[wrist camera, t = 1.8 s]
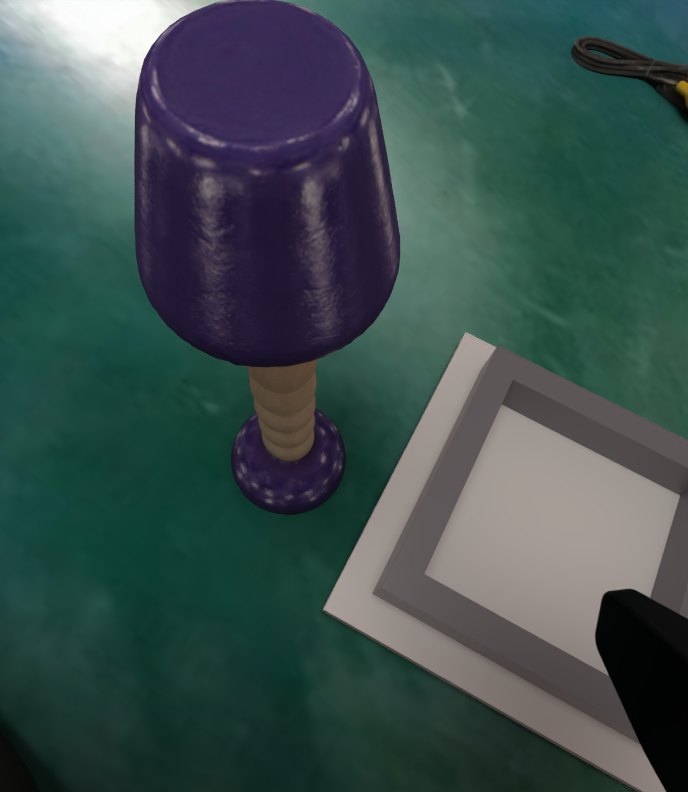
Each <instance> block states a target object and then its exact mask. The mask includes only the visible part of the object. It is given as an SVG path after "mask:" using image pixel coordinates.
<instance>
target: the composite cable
mask: <svg viewBox="0 0 688 792" xmlns="http://www.w3.org/2000/svg"><path fill="white" fill-rule="evenodd" d="M588 50H595V51H599V52H602V53H605V54H606V55H609V56H611V57H613V58H615V59H617V60H615V59H612V58H607V57H602V56H600V55H598V54H593V53H591V52H590V51H588ZM572 57H573V59H574V61H575V62H576V63H577V64H578V65H580V66H582V67H584V68H586V69H588V70H591V71H595V72H598V73H605V74H613V75H625V76H637V77H639V78H642V79H643V80H646V81H648V82H650V83H651V84H653V85H654V86H655V90H656V91H657V92H659V93H660V94H661V95H662V96H663V97H665V98H666V99H667V100H669V101H670V102H672V103H674V104H676V105H678V106H679V107H681V108H682V109H684V110H685V111H687V112H688V65H680V64H673V63H668V62H664V61H659V60H655V59H653V58H650V57H648V56H645V55H643V54H640V53H638V52H636V51H633V50H631V49H629V48H626V47H624V46H621V45H619V44H617V43H615V42H612V41H608V40H606V39H601V38H597V37H591V36H585V37H581V38H578V39H577V40H576V41H575V43H574V47H573V48H572Z"/></svg>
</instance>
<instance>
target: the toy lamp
mask: <svg viewBox="0 0 688 792" xmlns="http://www.w3.org/2000/svg"><path fill="white" fill-rule="evenodd" d="M135 243H136V258H137V264H138V271H139V275H140V279H141V282H142V285H143V287H144V290H145V292H146V294H147V297H148V299H149V301H150V303H151V305H152V306H153V308H154V309H155V310H156V311H157V313H158V314H159V316H160V317H161V318H162V320H163V321H164V322H165V323H166V325H167V326H168V327H169V328H171V329H172V330H173V331H174V332H175V333H176V334H177V335H178V336H179V337H180V338H181V339H183V340H184V341H186V342H188V343H189V344H191V345H192V346H193V347H195V348H197V349H199V350H201V351H203V352H205V353H207V354H208V355H210V356H212V357H215V358H217V359H221V360H225V361H229V362H231V363H233V364H235V365H245V366H247V369H248V371H249V384H250V389H251V392H252V394H253V396H254V407H255V410H256V413H254V414H253V415H252V416H251V417H250V418H249V419H248V420H247V421H246V422H245V423H244V424H243V425H242V427H241V428H240V430H239V432H238V434H237V436H236V438H235V441H234V444H233V449H232V453H231V464H232V471H233V475H234V478H235V480H236V483H237V485H238V486H239V487H240V489H241V491H242V493H243V494H244V495H245V496H246V497H247V498H248V499H249V500H251V501H252V502H253V503H254V504H255V505H257V506H259V507H260V508H263V509H266V510H268V511H270V512H275V513H283V514H296V513H301V512H304V511H307V510H310V509H313V508H315V507H317V506H319V505H320V504H322V503H323V502H324V501H325V500H327V499H328V498H329V497H330V496H331V495H332V493H333V492H334V491H335V490H336V489H337V487H338V486H339V483H340V481H341V479H342V476H343V472H344V466H345V450H344V444H343V441H342V437H341V435H340V433H339V431H338V430H337V428H336V427H335V425H334V424H333V423H332V422H331V420H330V419H329V418H328V417H327V416H325V415H324V414H323V413H322V412H321V411H319V410H318V409H316V408H315V407H316V401H315V391H316V384H317V379H316V374H315V368H316V364H317V359H319V358H322V357H325V356H327V355H328V354H330V353H332V352H334V351H336V350H339V349H341V348H343V347H345V346H346V345H348V344H350V343H351V342H352V341H353V340H354V339H355V338H357V337H358V336H360V335H361V334H363V333H364V332H365V331H366V329H367V328H368V327H370V326H371V325H372V324H373V323H374V321H375V320H376V318H377V317H378V316H379V314H380V313H381V311H382V310H383V308H384V306H385V304H386V303H387V301H388V299H389V297H390V295H391V292H392V290H393V287H394V284H395V281H396V278H397V274H398V270H399V261H400V234H399V227H398V221H397V214H396V207H395V201H394V195H393V190H392V183H391V177H390V170H389V164H388V158H387V152H386V147H385V141H384V136H383V130H382V125H381V119H380V114H379V109H378V103H377V97H376V92H375V89H374V85H373V82H372V79H371V76H370V74H369V71H368V69H367V67H366V64H365V62H364V60H363V58H362V56H361V54H360V52H359V50H358V49H357V48H356V46H355V45H354V44H353V42H352V41H351V40H350V39H349V37H348V36H347V35H346V34H344V33H343V32H342V31H341V30H340V29H339V28H338V27H337V26H335V25H334V24H333V23H332V22H331V21H329V20H327V19H326V18H324V17H322V16H321V15H319V14H317V13H315V12H313V11H311V10H309V9H306V8H304V7H301V6H299V5H295V4H291V3H287V2H282V1H276V0H226V1H222V2H217V3H214V4H211V5H208V6H206V7H203V8H201V9H198V10H196V11H194V12H192V13H190V14H188V15H186V16H184V17H182V18H180V19H179V20H177V21H176V22H174V23H173V24H172V25H170V26H169V27H168V28H167V29H166V30H165V31H164V32H163V33H162V34H161V35H160V36H159V37H158V39H157V40H156V41H155V42H154V44H153V45H152V46H151V48H150V50H149V52H148V54H147V55H146V57H145V59H144V62H143V65H142V69H141V74H140V77H139V84H138V90H137V95H136V107H135Z"/></svg>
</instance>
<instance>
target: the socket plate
mask: <svg viewBox="0 0 688 792" xmlns="http://www.w3.org/2000/svg"><path fill="white" fill-rule="evenodd" d="M619 589H634V590H636V591H639V592H640V593H642V594H644V595H646V596H648V597H649V598H651V599H653V600H655V601H657V602H658V603H660V604H662V605H664V606H666V607H668V608H669V609H671V610H673V611H675V612H677V613H678V614H680V615H682V616H684V617H686V618H687V619H688V440H686V439H684V438H682V437H680V436H678V435H676V434H674V433H672V432H670V431H668V430H666V429H664V428H662V427H660V426H658V425H656V424H654V423H652V422H650V421H648V420H646V419H644V418H642V417H640V416H638V415H636V414H634V413H632V412H630V411H628V410H626V409H624V408H622V407H620V406H618V405H616V404H614V403H612V402H610V401H608V400H606V399H604V398H602V397H600V396H598V395H596V394H594V393H592V392H590V391H588V390H586V389H584V388H582V387H580V386H578V385H576V384H574V383H572V382H570V381H568V380H566V379H564V378H562V377H560V376H558V375H556V374H554V373H552V372H550V371H548V370H546V369H544V368H542V367H540V366H538V365H536V364H534V363H532V362H530V361H528V360H526V359H524V358H522V357H520V356H518V355H516V354H514V353H512V352H510V351H508V350H506V349H504V348H502V347H500V346H497V347H494V346H492V345H490V344H488V343H486V342H484V341H482V340H480V339H478V338H476V337H474V336H472V335H470V334H468V333H466V332H465V334H464V336H463V338H462V339H461V341H460V343H459V345H458V347H457V349H456V351H455V353H454V355H453V357H452V358H451V360H450V362H449V364H448V366H447V368H446V370H445V372H444V374H443V376H442V378H441V380H440V382H439V384H438V386H437V388H436V390H435V392H434V393H433V395H432V397H431V399H430V401H429V403H428V405H427V407H426V409H425V411H424V413H423V415H422V417H421V419H420V421H419V423H418V425H417V427H416V428H415V430H414V432H413V434H412V436H411V438H410V440H409V442H408V444H407V446H406V448H405V450H404V452H403V454H402V456H401V458H400V460H399V462H398V463H397V465H396V467H395V469H394V471H393V473H392V475H391V477H390V479H389V481H388V483H387V485H386V487H385V489H384V491H383V493H382V495H381V497H380V498H379V500H378V502H377V504H376V506H375V508H374V510H373V512H372V514H371V516H370V518H369V520H368V522H367V524H366V526H365V528H364V530H363V532H362V533H361V535H360V537H359V539H358V541H357V543H356V545H355V547H354V549H353V551H352V553H351V555H350V557H349V559H348V561H347V563H346V565H345V566H344V568H343V570H342V572H341V574H340V576H339V578H338V580H337V582H336V584H335V586H334V588H333V590H332V592H331V594H330V596H329V598H328V600H327V601H326V603H325V605H324V607H323V609H322V612H324V613H326V614H327V615H329V616H331V617H333V618H334V619H336V620H338V621H340V622H341V623H343V624H345V625H347V626H348V627H350V628H352V629H354V630H355V631H357V632H359V633H361V634H362V635H364V636H366V637H368V638H369V639H371V640H373V641H375V642H376V643H378V644H380V645H382V646H383V647H385V648H387V649H389V650H390V651H392V652H394V653H396V654H397V655H399V656H401V657H403V658H404V659H406V660H408V661H410V662H411V663H413V664H415V665H417V666H418V667H420V668H422V669H424V670H425V671H427V672H429V673H431V674H432V675H434V676H436V677H438V678H439V679H441V680H443V681H445V682H446V683H448V684H450V685H452V686H453V687H455V688H457V689H459V690H460V691H462V692H464V693H466V694H467V695H469V696H471V697H473V698H474V699H476V700H478V701H480V702H481V703H483V704H485V705H487V706H488V707H490V708H492V709H494V710H495V711H497V712H499V713H501V714H502V715H504V716H506V717H508V718H509V719H511V720H513V721H515V722H516V723H518V724H520V725H522V726H523V727H525V728H527V729H529V730H530V731H532V732H534V733H536V734H537V735H539V736H541V737H543V738H544V739H546V740H548V741H550V742H551V743H553V744H555V745H557V746H558V747H560V748H562V749H564V750H565V751H567V752H569V753H571V754H572V755H574V756H576V757H578V758H579V759H581V760H583V761H585V762H586V763H588V764H590V765H592V766H593V767H595V768H597V769H599V770H600V771H602V772H604V773H606V774H607V775H609V776H611V777H613V778H614V779H616V780H618V781H620V782H621V783H623V784H625V785H627V786H628V787H630V788H632V789H634V790H635V791H637V792H666V791H665V789H664V787H663V785H662V784H661V782H660V780H659V778H658V777H657V775H656V773H655V771H654V769H653V768H652V766H651V764H650V762H649V760H648V758H647V757H646V755H645V753H644V751H643V749H642V747H641V745H640V743H639V740H638V738H637V736H636V734H635V732H634V730H633V728H632V725H631V723H630V721H629V719H628V717H627V714H626V712H625V710H624V708H623V705H622V703H621V701H620V699H619V697H618V694H617V692H616V690H615V688H614V686H613V683H612V681H611V679H610V677H609V675H608V672H607V670H606V668H605V666H604V663H603V661H602V659H601V657H600V655H599V652H598V650H597V646H596V642H595V630H596V625H597V620H598V614H599V609H600V604H601V599H602V596H603V595H604V593H605V592H607V591H610V590H619Z"/></svg>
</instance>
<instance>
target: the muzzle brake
mask: <svg viewBox="0 0 688 792" xmlns="http://www.w3.org/2000/svg"><path fill="white" fill-rule="evenodd" d="M0 792H40V791H39V789H38V786H37V784H36V782H35V781H34V779H33V777H32V775H31V773H30V772H29V770H28V768H27V766H26V764H25V763H24V761H23V760H22V759H21V757H20V756H19V754H18V753H17V751H16V750H15V749H14V747H13V746H12V744H11V743H10V742H9V741H8V739H7V738H6V737H5V736H4V735H3V734H2V733H1V732H0Z"/></svg>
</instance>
